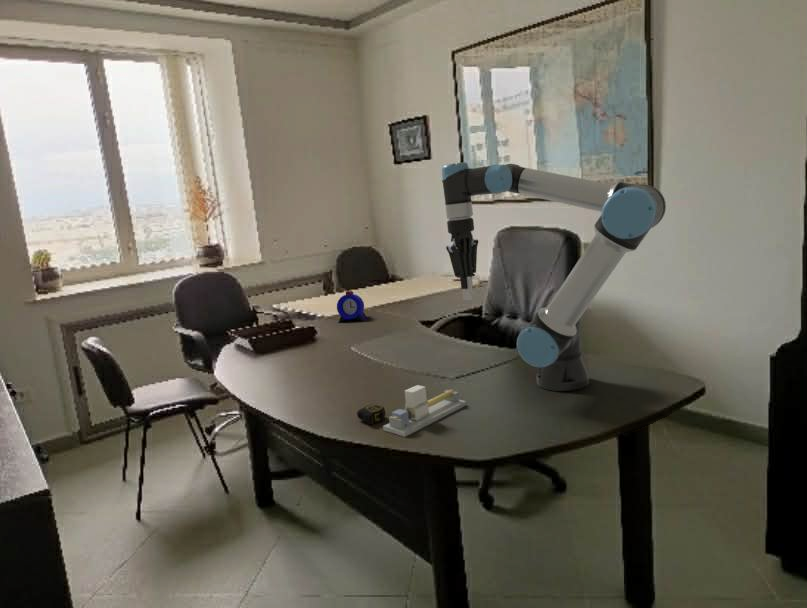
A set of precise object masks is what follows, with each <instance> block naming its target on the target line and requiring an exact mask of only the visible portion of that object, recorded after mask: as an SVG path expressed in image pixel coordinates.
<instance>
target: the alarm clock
mask: <svg viewBox="0 0 807 608" xmlns="http://www.w3.org/2000/svg"><path fill="white" fill-rule="evenodd" d="M364 302H365V301H364V300H363V299H362V297H360V295H358V294H354V292H353V291H352V290H348V291H345V294H344V295H342V296H340V298H339V299H338V301H337V304H336V310H337V311H336V312H337V313H338V315H340V317H339V320H338V324H339V323H341V322H344V321H346V320H352V319H355V320H357V321H360V322H363V321H364V320H365V319H366V318H367V315H366V314H365V313H364V310H365V303H364Z"/></svg>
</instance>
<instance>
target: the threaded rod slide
mask: <svg viewBox="0 0 807 608" xmlns="http://www.w3.org/2000/svg"><path fill="white" fill-rule="evenodd" d="M427 401H428V407H429V415H427V416H425V417H423V418H421V419H419V420H417V421H416V420H412V419H411V418H412V416H413V415H414V409H412V408H411V409H407V408H406V409H405V408H404V409H401V408H398V409H396V410H394V411H392V412H391V416H388V421H389V423H387V424H384V425H382V429H383V432H384V431H385V432H388V433H391V434H395V435H398V436H400V437H403V438H405V437H408V436H409V435H412V434H414V433H415V432H417V431H419V430H421V429H423V428H426V427H427V426H429V425H431V424H433V423H434V422H437V421H439V420H441V419H442V418H444V417H446V416H448V415H450V414H452V413H455V412H456V411H458V410H460V409H462V408H464V407H466V406H467V400H462V399H460V393H459V392H458V391H455V390H453V389H446V390H444V391H443V392H442V393H441V394H439V395H437V396H434V397H432V398H431V399H427Z"/></svg>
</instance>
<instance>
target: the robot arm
mask: <svg viewBox="0 0 807 608" xmlns="http://www.w3.org/2000/svg"><path fill="white" fill-rule="evenodd" d="M441 178H442V182H441V183H442V188H443V189H442V190H443V195H444V205H445V214H446V219H448V220H447V221H446V225H447V233H448V234H450V235H451V237H450V244H449V245H446V246H445V249H446V250H447V251H446V252H447V253H448V256H449V259H450V263H451V266H452V271H453V273H454V277H456V278H457V279H460V287H461V291H462V292H461V293H462V300H463V301H464V300H466V301H471V300H474V291H473V277H476V276H475V275H476V274H475V273H477V262H478V261H477V260H478V259H477V256H478V245H479V239H475V238H473V237H474V236H473V233H472V232H473V231H474V230H475V224H474V218H473V217H472V216H473V215H474V212H473V204H472V197H473V196H483V195H484V196H485V195H492V194H493V195H494V194H495V195H498V194H502V193H506V192H507V193H508V192H509V193H514V194H519V195H524V196H527V197H533V198H538V199H542V200H547V201H551V202H556V203H561V204H565V205H569V206H574V207H578V208H583V209H587V210H591V211H596V212H601V214H600V216H599V217H598V219H597V221H596V222H595V224H593V225H594V231H595V232H594V233H595V235H594V237H593V238H592V239H591V241H590V242H589V244H588V245H587V247H586V248H585V249H584V251H583V253H582V255H581V256H580V257H579V258H578V260H577V262H576V263H575V265H574V266H573V268H572V270H571V271H570V273H569V274H568V276H567V277H566V278H565V280H564V281H563V283H562V284H561V286H560V287H559V289H558V291H557V292H556V294H555V295H554V296H553V298H552V300H551V301H550V303H549V304H548V306H546V307H540V308H539V310H538V311H537V312H536V313H535V316H534V317H533V319H532V320H531V321H530V323H529V324H528V325H527V327H525V328H523V329H522V330H521V331H520V333H519V334H518V336H517V338H516V348H517V351H518V354H519V356H520V357H521V359H522V360H523V361H524V362H525V363H527V364H528V365H530V366H532V367H536V368H538V369H537V374H536V385H537V386H538V387H540V388H542V389H544V390H548V391H553V392H570V391H577V390H580V389H583V388H585V387H587V386H588V385H589V384H590V377H589V373H588V370H587V367H586V365H585V362H584V360H583V356H582V336H581V335H582V334H581V333H582V332H581V317H582V316H583V314H584V313H585V312H586V310H587V309H588V307H589V306H590V304H591V303H592V301H593V300H594V299H595V297H596V296H597V295H598V293H599V291H600V290H601V289H602V287H603V286H604V284H605V283H606V281H607V280H608V279H609V277H610V276H611V275H612V273H613V271H614V270H615V269H616V267H617V266H618V264H619V263H620V262H621V260H622V258H623V257H624V256H625V254H626V253H629V252H633V251H635V250H637V249H638V247H639V245H640V244H642V241H643V240H644V238H645V237H646V236H647V234H648V233H649V232H650V230H651V229H653V228H654V227H656V226H657V225H658V224H659V223H660V222H661V221H662V220H663V218H664V216H665V214H666V213H665V212H666V207H667V206H666V204H667V203H666V200H665V196H664V195H663V193H662V192H661V191H660V190H659V189H658V188H656V187H654V186H653V185H649V184H644V183H643V184H641V183H640V184H637V183H628V182H621V181H617V182H616V183H614V184H611V183H606V182H601V181H596V180H589V179H586V178H580V177H575V176H569V175H564V174H560V173H554V172H550V171H549V172H548V171H545V170H541V169H533V168H529V167H528V168H527V167H523V166H521V165H519V164H515V163H506V164H504V163H503V164H491V165H487V166H480V167H474V168H473V167H472V168H469V165H468V163H467V162H456V163H455V162H454V163H448V164H444V165H443V166H442V168H441Z"/></svg>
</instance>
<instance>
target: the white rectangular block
mask: <svg viewBox="0 0 807 608" xmlns="http://www.w3.org/2000/svg"><path fill="white" fill-rule="evenodd" d="M404 397H405V398H404V399H405V404H404V406H405V407H404V409H406V408H407V409H411V408H412V409H414V415H413V416H412V418H411V419H412V420H416V421H417V420H419V419H421V418H423V417H425V416H427V415H429V407H428V399H427V390H426V386H423V385H419V384H417V385H415V386H411V387H409V388H408V389H405V390H404Z"/></svg>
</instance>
